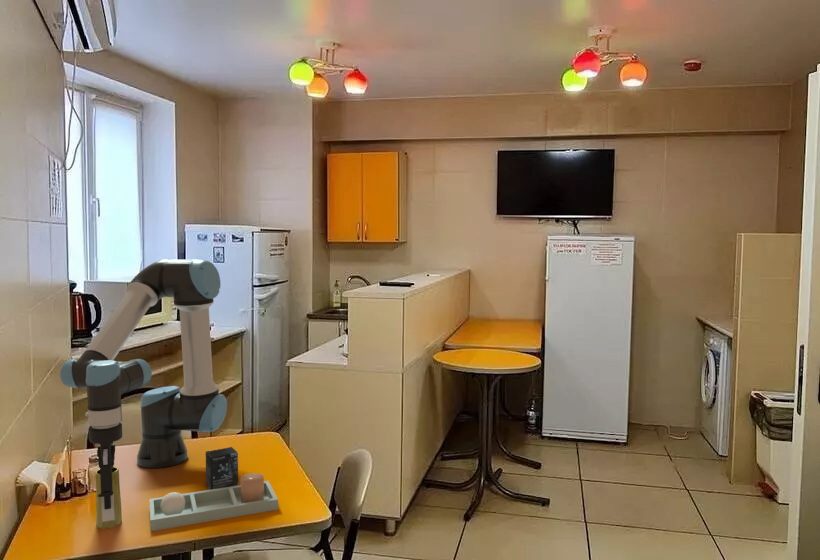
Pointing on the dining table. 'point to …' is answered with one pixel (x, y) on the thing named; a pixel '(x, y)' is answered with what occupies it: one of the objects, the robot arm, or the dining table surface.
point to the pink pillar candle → (252, 487)
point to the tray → (211, 507)
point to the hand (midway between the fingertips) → (109, 514)
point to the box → (221, 468)
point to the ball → (172, 504)
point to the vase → (116, 501)
